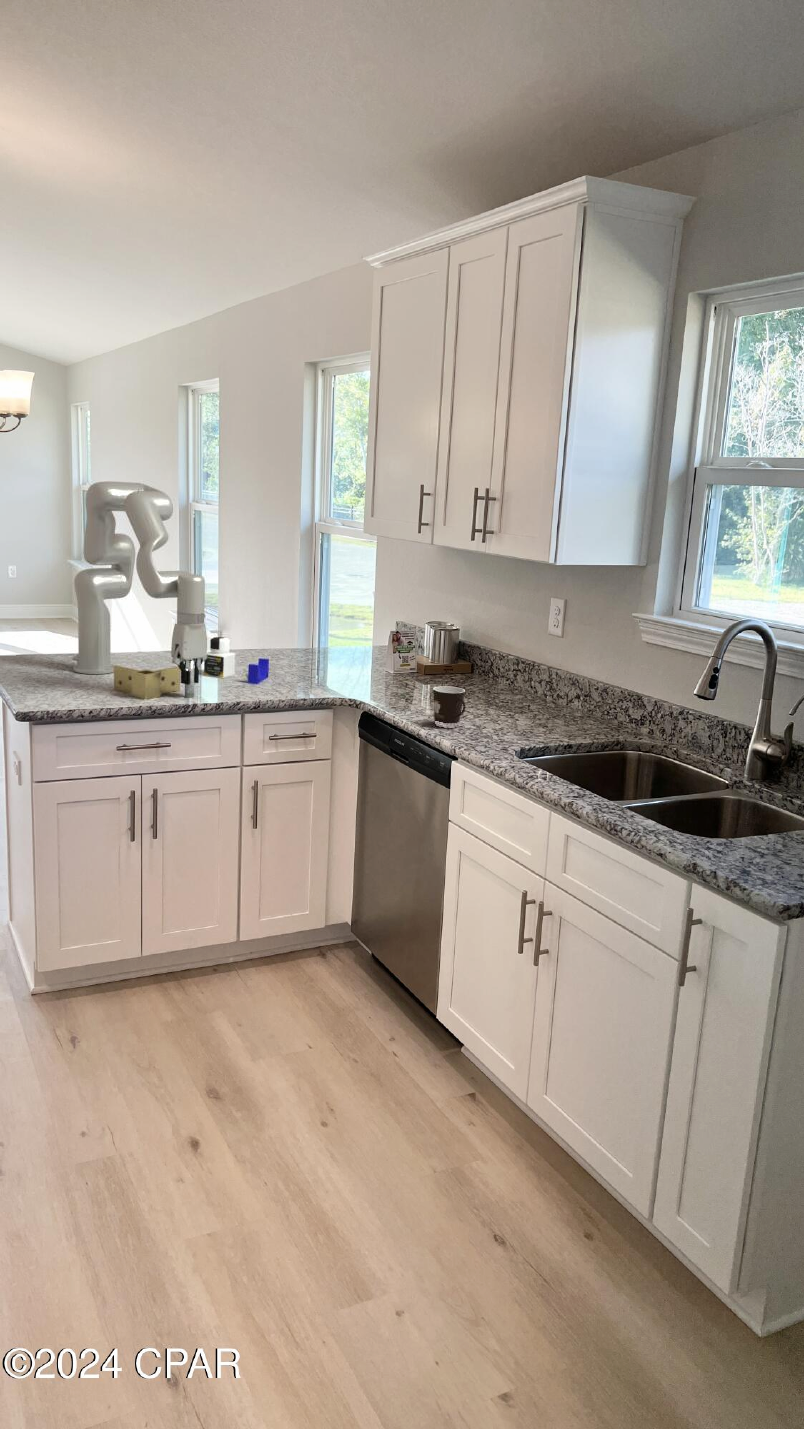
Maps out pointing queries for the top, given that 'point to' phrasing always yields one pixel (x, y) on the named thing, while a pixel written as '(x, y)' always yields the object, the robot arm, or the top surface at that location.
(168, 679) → the hinge
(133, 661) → the top surface
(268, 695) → the top surface
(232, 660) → the medicine bottle
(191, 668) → the pin
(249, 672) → the cable clip
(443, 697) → the coffee mug
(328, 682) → the top surface
